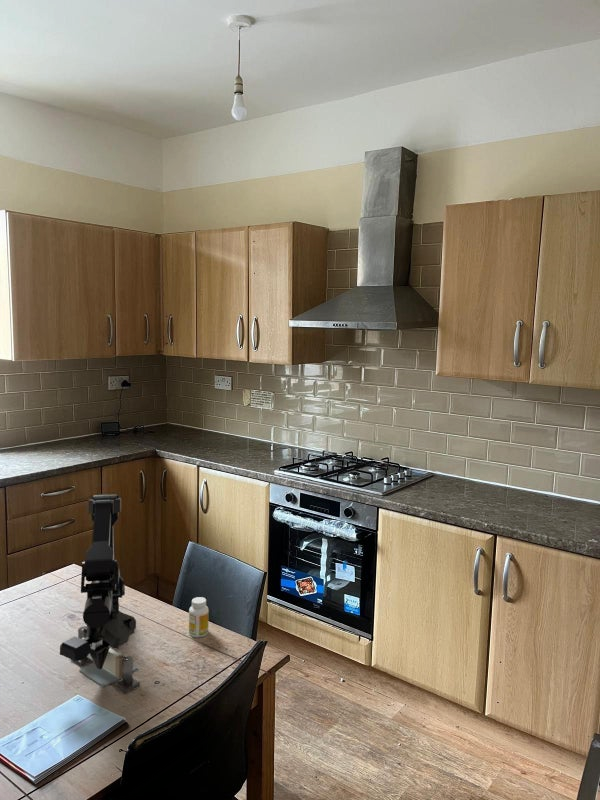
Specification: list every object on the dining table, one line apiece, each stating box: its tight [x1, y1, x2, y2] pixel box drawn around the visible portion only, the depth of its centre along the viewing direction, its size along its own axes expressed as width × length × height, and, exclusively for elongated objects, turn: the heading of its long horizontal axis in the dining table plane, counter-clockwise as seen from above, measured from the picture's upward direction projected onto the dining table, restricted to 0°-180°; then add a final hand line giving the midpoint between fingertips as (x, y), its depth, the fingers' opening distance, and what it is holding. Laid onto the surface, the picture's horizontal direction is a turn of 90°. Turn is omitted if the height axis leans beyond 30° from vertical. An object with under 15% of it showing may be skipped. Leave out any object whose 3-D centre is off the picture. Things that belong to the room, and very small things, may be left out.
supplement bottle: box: [188, 596, 210, 638], centre depth 168 cm, size 5×5×10 cm
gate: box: [87, 647, 126, 680], centre depth 148 cm, size 14×2×5 cm, turn 52°
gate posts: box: [72, 625, 141, 694], centre depth 148 cm, size 22×5×8 cm, turn 52°
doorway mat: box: [79, 662, 139, 688], centre depth 149 cm, size 10×10×1 cm
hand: (99, 668), depth 145 cm, fingers closed
